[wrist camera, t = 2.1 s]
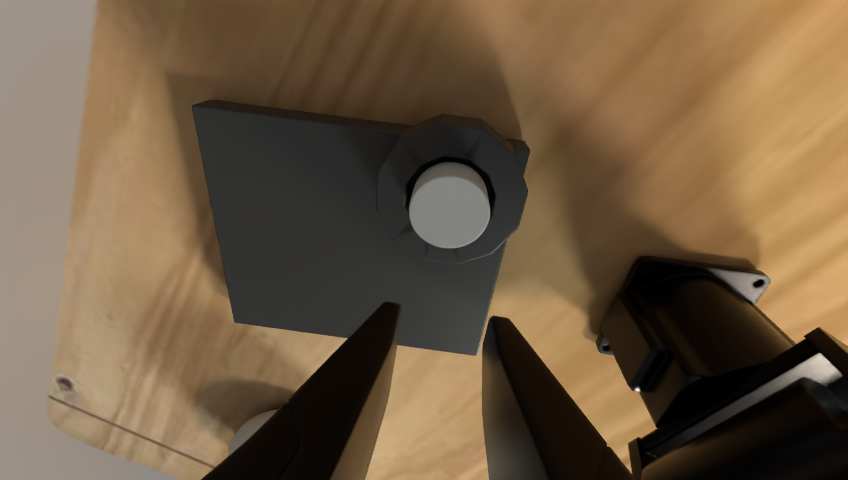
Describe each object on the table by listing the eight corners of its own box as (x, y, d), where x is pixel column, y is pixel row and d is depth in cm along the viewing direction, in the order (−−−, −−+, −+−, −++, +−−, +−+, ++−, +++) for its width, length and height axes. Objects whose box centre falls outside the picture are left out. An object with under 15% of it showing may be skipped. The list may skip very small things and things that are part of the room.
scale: (530, 118, 16) (545, 136, 13) (475, 338, 22) (478, 379, 20) (206, 75, 16) (157, 85, 13) (245, 307, 23) (218, 343, 20)
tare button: (494, 166, 14) (498, 181, 13) (479, 234, 16) (481, 253, 15) (416, 156, 14) (412, 170, 13) (409, 224, 16) (405, 243, 15)
